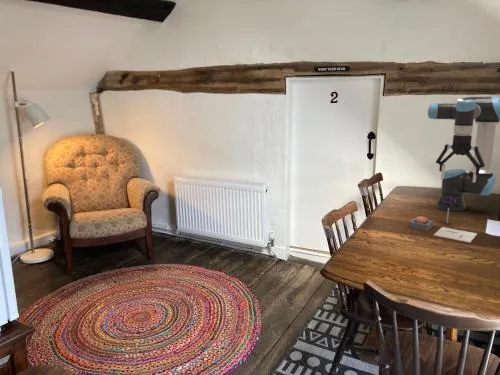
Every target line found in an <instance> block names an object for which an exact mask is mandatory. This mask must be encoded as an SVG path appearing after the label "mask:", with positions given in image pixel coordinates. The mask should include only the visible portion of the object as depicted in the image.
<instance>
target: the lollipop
mask: <svg viewBox="0 0 500 375" xmlns="http://www.w3.org/2000/svg"><path fill="white" fill-rule="evenodd" d="M442 203H443V205H444V206H445V207H447V208H448V211H447V214H446V224H449V216H450V215H449V214H450V211H449V208H452V207H454V206H455V205H456V203H457V201H456V199H455V198H454V197H452V196H446V197H444V199H443V200H442Z"/></svg>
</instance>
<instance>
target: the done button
mask: <svg viewBox="0 0 500 375" xmlns="http://www.w3.org/2000/svg"><path fill="white" fill-rule="evenodd" d="M415 218H416V222H417V223H423V224H426V223H427V220H428V218H427V217H426V216H422V215H421V216H419V215H418V216H416V217H415Z"/></svg>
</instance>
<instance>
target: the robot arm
mask: <svg viewBox="0 0 500 375" xmlns="http://www.w3.org/2000/svg"><path fill="white" fill-rule="evenodd" d="M427 116H428V117H427V118H429V119H431V120H452V121H453V120H454V126H453V136H452V143H451V144H449V143H447V144H446V143H445V145H444V147H443V150H442V151H441V152H440V154H439V156H438V158H437V159H436V160H435V163H436V164H438V165H439V172H440V173H441V174H440V179H441V180H442V181H441V191H440V196H439V199H437V202H436V208H437V209H439V210H441V211H447V212H448V208H447V207H445V206H444V205H443V203H442V200H443V199H444V197H446V196H452V197H454V198H455V199H456V201H457V203H456V205H455V206H454V207H452V208H449V212H456V213H457V212H463V211H465V210H466V202H465V199H464V194H470V195H471V194H472V195H479V196H490V195H491V194H492V192H493V190H494V187H495V184H496V181H497V180H496V179H497V176H496V175H494V171H493V170H492V169H491V166H492V161H493V160H492V157H493V151H494V145H495V144H494V143H495V136H496V135H495V134H496V126H497V125H498V124H499V123H500V96H468V97H467V96H466V97H461V98H458V99H454V100H453V101H450V102H445V103H431V104H430V105H429V106H428V109H427ZM474 123H475V124H476V125H477V128H476V137H475V144H474V146H473V145H472V139H473V136H472V135H473V129H474ZM450 149H451V150H452V151H451V152H450V153H449V154H448V155H447V156H446V157H445V158H444V156H445V155H446V154H447V152H448V150H450ZM471 150H472V151H473V152H474V154H473V155H472V153H471V152H470V151H471ZM454 155H456V156H466V157H467V158H468V160H470V162H471V163H472V168H470V169H469V172H467V171H466V169H463V168H455V169H453V168H452V169H447V170H446V164H445V163H446V162H447V161H448V160H450V158H452V157H453V156H454Z"/></svg>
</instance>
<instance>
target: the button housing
mask: <svg viewBox="0 0 500 375" xmlns="http://www.w3.org/2000/svg"><path fill="white" fill-rule="evenodd" d="M408 226H409V227H408V228H410V229H416V230H420V231H425V232H428V231H429V230H430V229H431V228H432V227H433V226H434V220H432V219H431V220H430V219H427V223H426V224H423V223H417V222H416V217H414V218H413V219H412V220H410V221H409V224H408Z"/></svg>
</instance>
